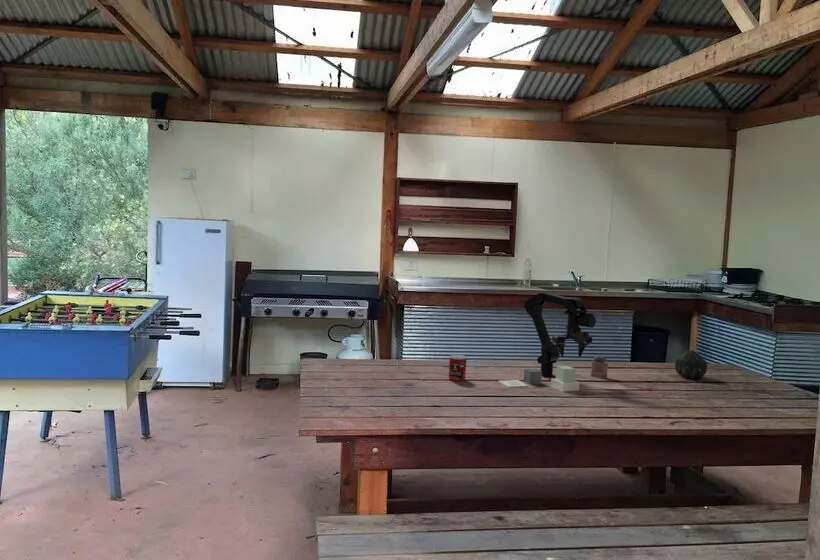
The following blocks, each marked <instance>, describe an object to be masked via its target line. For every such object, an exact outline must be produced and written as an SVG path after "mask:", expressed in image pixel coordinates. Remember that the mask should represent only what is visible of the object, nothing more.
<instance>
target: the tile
mask: <svg viewBox="0 0 820 560" xmlns="http://www.w3.org/2000/svg"><path fill="white" fill-rule="evenodd" d="M498 383H499V384H501V385H503V386H505V387H506V388H526V387H527V388H528V387H529V384H527V383H524V381H521V380H518V379H512V380H511V379H510V380H505V379H504V380H498Z"/></svg>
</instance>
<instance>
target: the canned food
mask: <svg viewBox="0 0 820 560" xmlns="http://www.w3.org/2000/svg"><path fill="white" fill-rule="evenodd" d="M448 363H449V364H448V380H449V381H452V382H464V381H465V380H466V373H467V371H466V370H467V356H466V355H462V354H451V355H449V361H448Z"/></svg>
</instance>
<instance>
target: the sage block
mask: <svg viewBox="0 0 820 560" xmlns="http://www.w3.org/2000/svg"><path fill="white" fill-rule="evenodd" d="M555 378H556V379H557V380H559V381H561V382H575V381H576V368H575V367H572V366H570V365H556V373H555Z"/></svg>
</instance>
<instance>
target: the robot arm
mask: <svg viewBox="0 0 820 560" xmlns="http://www.w3.org/2000/svg"><path fill="white" fill-rule="evenodd" d="M546 302H549V303H551V304H556V305H561V306H562V307H564V308H565V311H564V312H563V315H565V314H566V315H567V321H566V325H565V328H566V333H565V334H564V336H563V335H560V334H553V335H552V337H550V334H549V331H548V329H547V327H546V324H545V320H544V318H543V314H542V313H543V306H544V305H545V304H546ZM523 306H524V307H523V308H524V309H525V311H526V314H528V316H529V317H531V319H532V322H533V325H534V327H535V330H536V333H537V336H538V338H539V341H540V344H541V347H540V353H541V355H540V356H538V357H537V358H536V359H537V364H539V365H540V369H539V370H540V371H542V378H548V377H549V378H551V377H552V378H553V377H555V378H556V374H553V371H554V364H556V363H557V361H558V359H559V358H560V356H561V358H564V356H565V346H566V343H565V342H575V343H577V344H578V347H577V348H578V350H577V351H578V357H579V358H581V357H582V355H583V352H584V350H585V349H586V347H587V346H588V345H589V346H590V345H591V344H592V343H593V342H594V341H593V337H592V336H590V332H588V331H584V332H583V331H582V327H585V328H591V329H592V328H594V327H595V326H596V323H597V320H596V316H594V314H595V313H594V312H588V311H587V308H586V306H585V305H584V301H583V299H582V298H580V297H565V296H562V295H559V294H555V293H550V292H548V291H540V292H538V293H537V294H536V295H534V296H533V297H531V298H530V299H527V300H526V301H525V302H524V304H523Z"/></svg>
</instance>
